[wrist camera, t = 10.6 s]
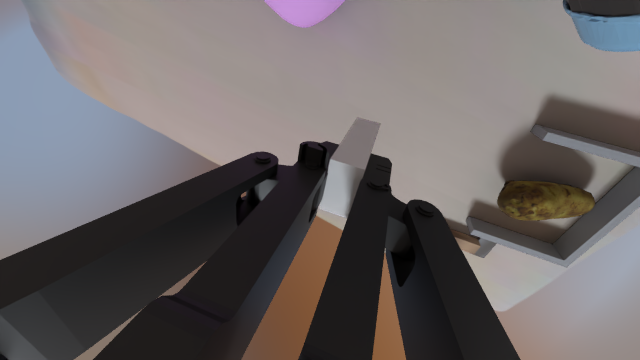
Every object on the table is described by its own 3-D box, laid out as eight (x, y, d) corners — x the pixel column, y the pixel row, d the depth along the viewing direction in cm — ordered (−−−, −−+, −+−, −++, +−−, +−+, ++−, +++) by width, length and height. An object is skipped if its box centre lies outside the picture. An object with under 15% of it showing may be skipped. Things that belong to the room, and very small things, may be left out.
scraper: (416, 231, 53) (417, 239, 51) (426, 214, 50) (427, 221, 48) (482, 255, 51) (485, 264, 49) (496, 238, 48) (500, 247, 46)
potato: (545, 223, 44) (570, 255, 37) (480, 190, 44) (493, 216, 38) (591, 189, 39) (629, 219, 32) (517, 153, 40) (539, 175, 33)
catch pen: (535, 124, 37) (548, 132, 34) (657, 157, 35) (684, 169, 31) (465, 220, 48) (470, 234, 45) (554, 251, 46) (566, 267, 42)
